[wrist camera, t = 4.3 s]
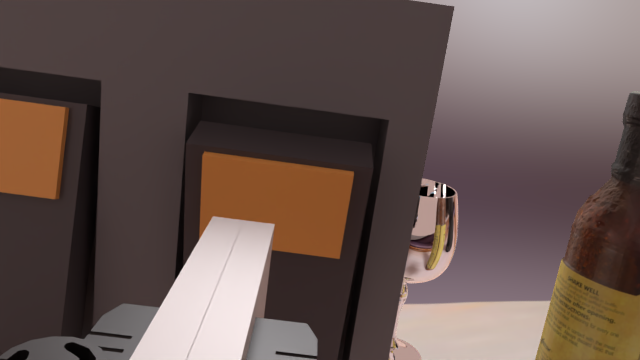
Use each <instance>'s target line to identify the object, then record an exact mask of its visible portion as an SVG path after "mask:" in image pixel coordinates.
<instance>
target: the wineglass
mask: <svg viewBox="0 0 640 360" xmlns="http://www.w3.org/2000/svg"><path fill="white" fill-rule="evenodd" d="M457 235H458V199H457V192H456V191H455V190H454V189H453V188H451V187H449V186H447V185H444V184H441V183H438V182H435V181H431V180H427V179H422V182H421V187H420V192H419V198H418V203H417V208H416V214H415V219H414V225H413V230H412V235H411V241H410V246H409V251H408V257H407V262H406V267H405V273H404V278H403V283H402V289H401V294H400V299H399V305H398V310H397V315H396V321H395V326H394V331H393V337H392V342H391V347H390V353H389V358H388V360H421V356H420V354H419V352H418V351H417V350H416V349H415V348H414V347H413V346H412V345H410V344H409V343H407V342H405V341H403V340H401V339H398V338H397V337H396V332H397V326H398V320H399V315H400V312H401V309H402V306H403V304H404V302H405V301H406V298H407V294H408V288H407V285H406V283H421V282H426V281H430V280H433V279H435V278H436V277H438V276H439V275H440V274H442V273H443V272H444V271H445V270H446V268H447V267H448V266H449V264H450V262H451V259H452V257H453V254H454V251H455V248H456V242H457Z"/></svg>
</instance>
